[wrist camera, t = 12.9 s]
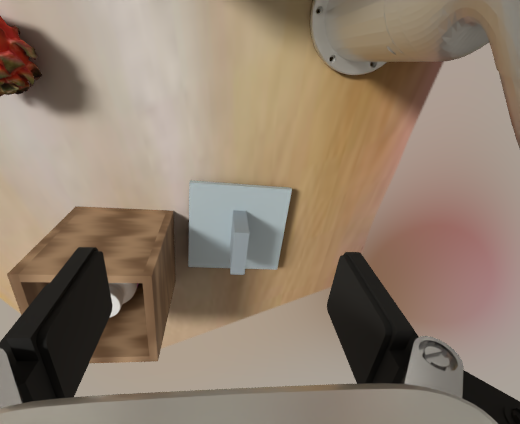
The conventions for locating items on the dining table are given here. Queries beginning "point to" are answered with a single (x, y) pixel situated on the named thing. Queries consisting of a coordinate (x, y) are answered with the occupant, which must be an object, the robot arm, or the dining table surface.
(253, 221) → the lid
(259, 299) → the dining table surface
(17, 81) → the dragon fruit
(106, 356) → the crate
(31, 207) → the dining table surface
